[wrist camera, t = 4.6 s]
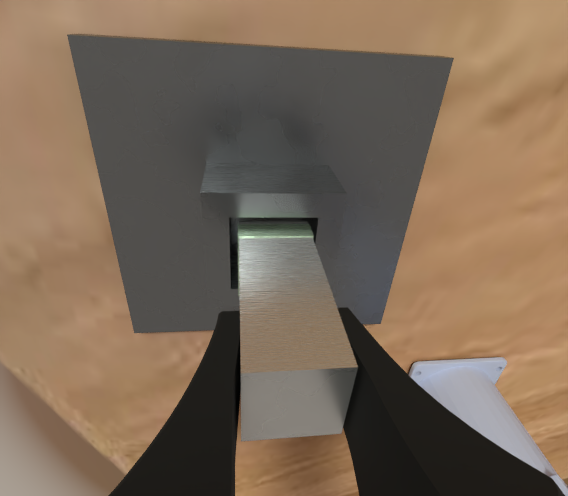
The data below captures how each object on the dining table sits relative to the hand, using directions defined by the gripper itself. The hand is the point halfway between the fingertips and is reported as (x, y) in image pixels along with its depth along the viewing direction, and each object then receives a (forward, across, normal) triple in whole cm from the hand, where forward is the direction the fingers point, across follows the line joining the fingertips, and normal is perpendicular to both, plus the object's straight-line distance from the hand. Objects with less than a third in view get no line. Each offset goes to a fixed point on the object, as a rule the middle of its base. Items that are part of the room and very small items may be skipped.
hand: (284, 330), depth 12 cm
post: (+5, 0, 0) cm, 5 cm away
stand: (+9, 0, 0) cm, 9 cm away
